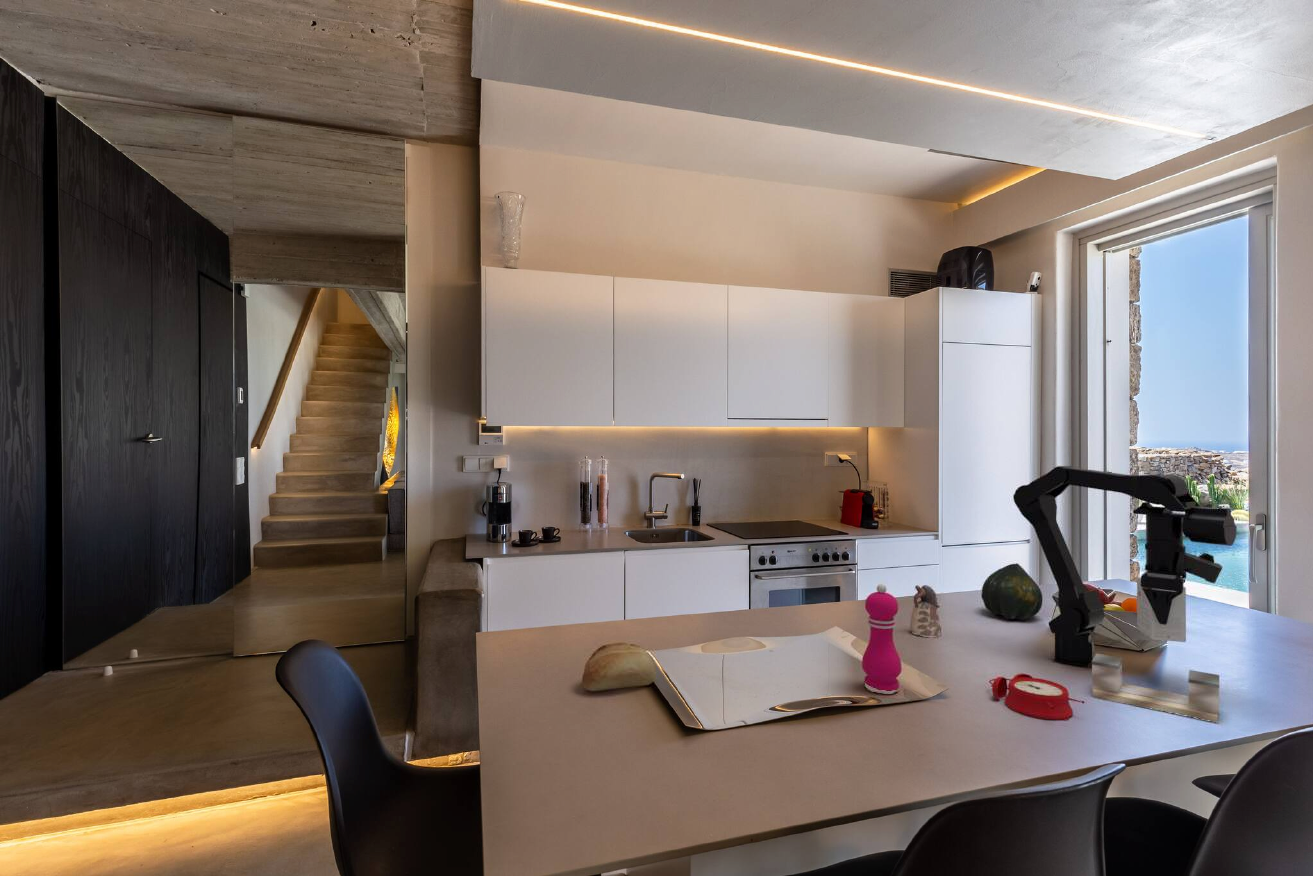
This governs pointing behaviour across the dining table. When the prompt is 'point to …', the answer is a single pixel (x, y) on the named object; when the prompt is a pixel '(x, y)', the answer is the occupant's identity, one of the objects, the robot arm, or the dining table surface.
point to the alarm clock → (1034, 696)
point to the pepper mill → (881, 642)
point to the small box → (1150, 624)
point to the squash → (1012, 593)
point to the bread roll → (618, 667)
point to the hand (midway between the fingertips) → (1164, 619)
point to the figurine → (925, 613)
